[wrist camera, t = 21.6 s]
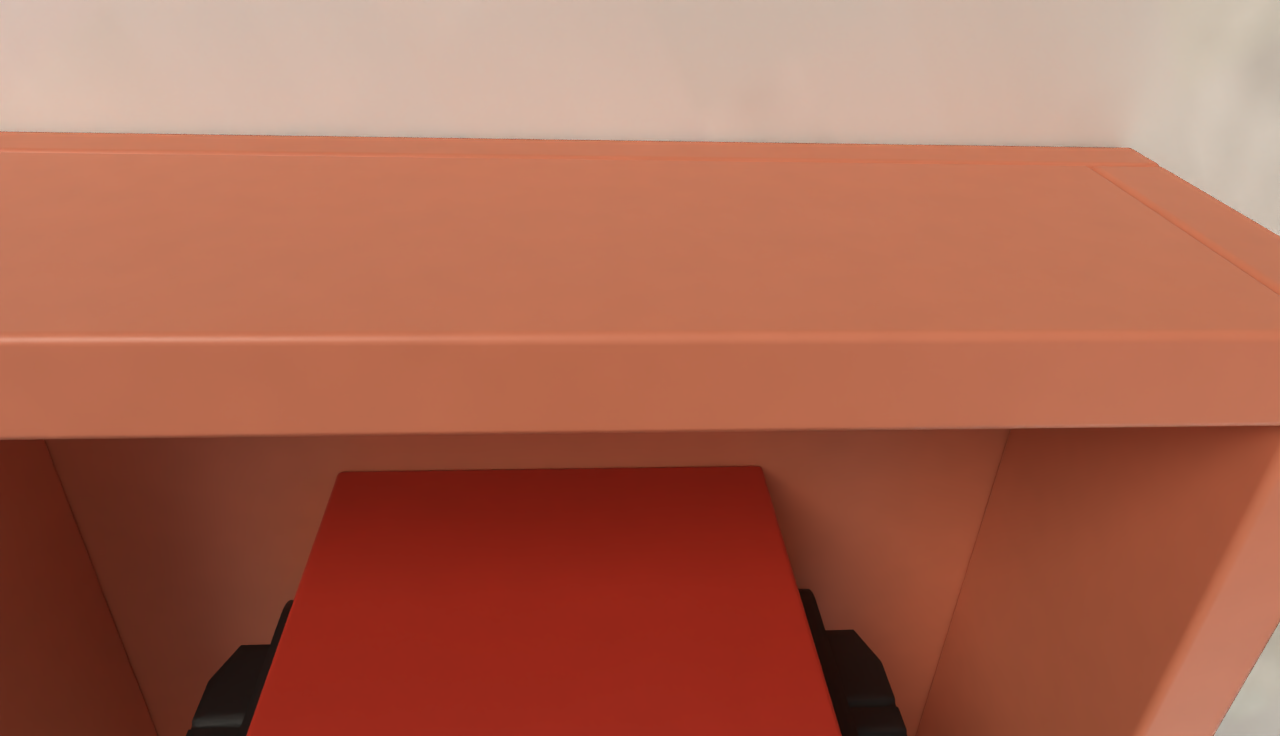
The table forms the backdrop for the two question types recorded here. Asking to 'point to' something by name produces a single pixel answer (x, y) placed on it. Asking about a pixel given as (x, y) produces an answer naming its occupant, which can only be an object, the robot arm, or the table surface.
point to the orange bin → (647, 395)
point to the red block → (548, 609)
